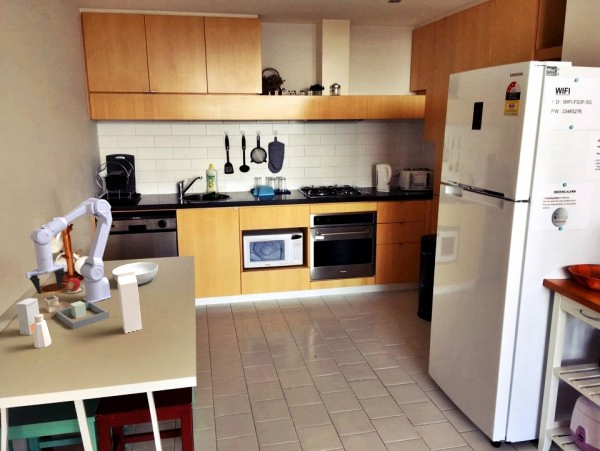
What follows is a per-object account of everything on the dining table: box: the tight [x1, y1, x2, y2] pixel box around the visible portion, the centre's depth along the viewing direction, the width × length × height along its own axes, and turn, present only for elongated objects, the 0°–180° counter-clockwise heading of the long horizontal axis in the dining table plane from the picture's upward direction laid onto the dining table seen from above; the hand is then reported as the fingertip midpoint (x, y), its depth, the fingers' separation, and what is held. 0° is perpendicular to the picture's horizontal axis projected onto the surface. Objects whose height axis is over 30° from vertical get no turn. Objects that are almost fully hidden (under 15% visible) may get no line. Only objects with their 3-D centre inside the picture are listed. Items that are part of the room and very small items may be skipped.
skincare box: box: [15, 297, 40, 336], centre depth 175 cm, size 6×4×12 cm
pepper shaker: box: [33, 314, 52, 349], centre depth 164 cm, size 5×5×11 cm
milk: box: [116, 271, 143, 334], centre depth 173 cm, size 6×6×22 cm
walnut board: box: [39, 300, 71, 321], centre depth 193 cm, size 14×12×1 cm
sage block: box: [69, 300, 87, 319], centre depth 189 cm, size 4×4×5 cm
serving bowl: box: [111, 261, 159, 286], centre depth 227 cm, size 21×21×7 cm
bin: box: [56, 301, 110, 330], centre depth 187 cm, size 14×17×2 cm
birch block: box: [43, 295, 60, 313], centre depth 192 cm, size 4×4×5 cm
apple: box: [64, 277, 85, 294], centre depth 217 cm, size 8×8×6 cm
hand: (49, 290), depth 191 cm, fingers open, 7 cm apart
